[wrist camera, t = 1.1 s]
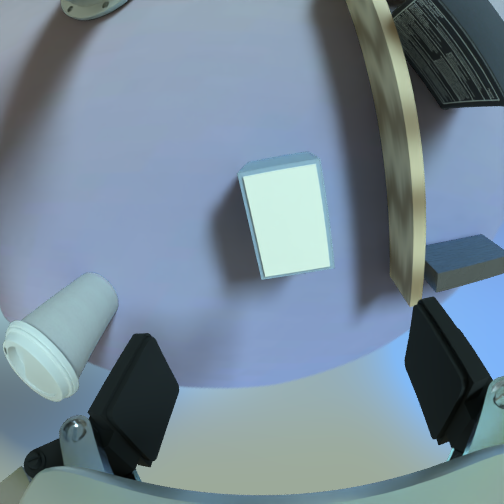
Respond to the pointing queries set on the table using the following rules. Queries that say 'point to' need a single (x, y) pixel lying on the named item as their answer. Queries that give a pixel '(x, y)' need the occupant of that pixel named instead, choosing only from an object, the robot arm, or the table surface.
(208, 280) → the table surface
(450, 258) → the bookend
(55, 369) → the coffee cup
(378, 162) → the table surface
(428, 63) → the small box
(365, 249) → the table surface
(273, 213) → the pale grey block
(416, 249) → the curved wooden plank
